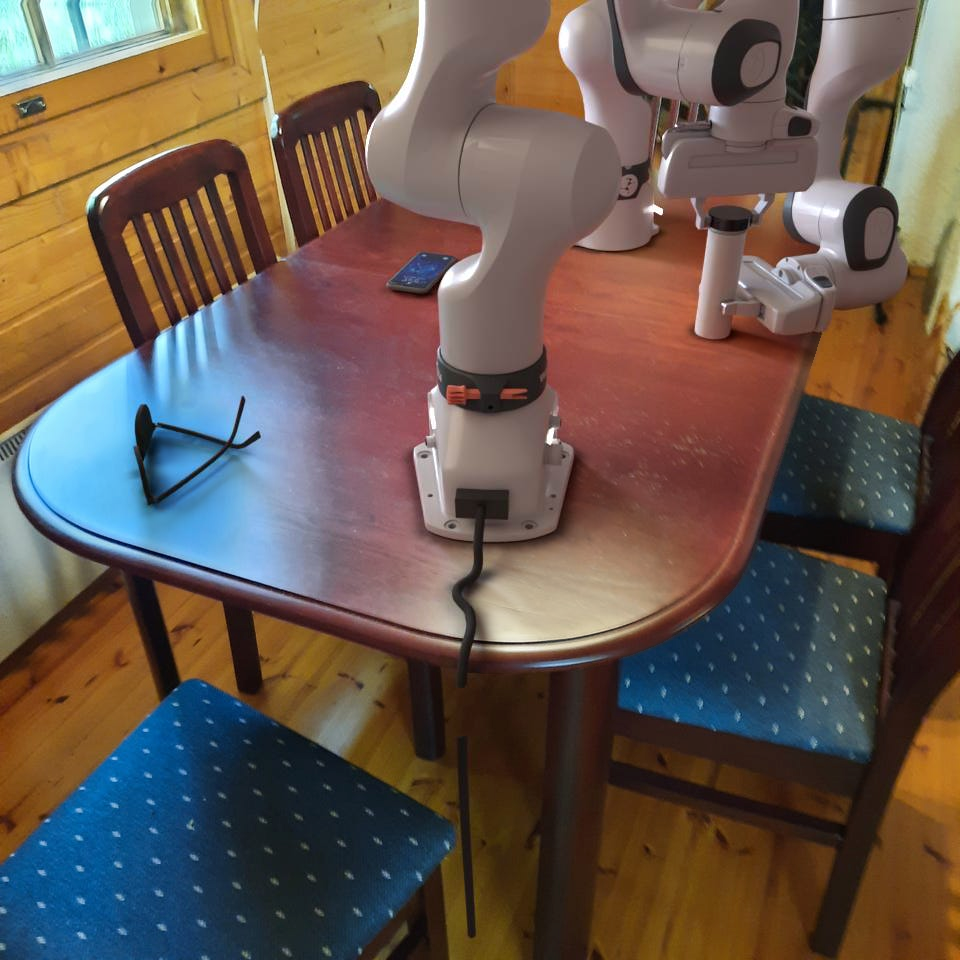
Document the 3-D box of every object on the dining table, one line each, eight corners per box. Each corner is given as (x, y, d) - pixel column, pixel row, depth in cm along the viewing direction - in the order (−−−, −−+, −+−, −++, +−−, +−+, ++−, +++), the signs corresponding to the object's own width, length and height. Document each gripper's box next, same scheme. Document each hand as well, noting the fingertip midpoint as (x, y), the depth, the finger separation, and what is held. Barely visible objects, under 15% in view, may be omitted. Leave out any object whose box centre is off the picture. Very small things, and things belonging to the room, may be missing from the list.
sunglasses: (270, 486, 97) (262, 449, 94) (137, 510, 94) (125, 474, 91) (257, 411, 110) (250, 377, 107) (140, 430, 107) (130, 396, 104)
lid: (715, 214, 119) (717, 202, 118) (756, 221, 116) (758, 209, 115) (699, 227, 115) (701, 215, 114) (742, 235, 112) (744, 222, 111)
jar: (690, 335, 124) (706, 222, 114) (699, 321, 128) (715, 210, 118) (725, 342, 122) (744, 227, 112) (733, 327, 126) (752, 215, 116)
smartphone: (458, 255, 148) (426, 290, 136) (458, 261, 148) (426, 296, 137) (419, 250, 150) (383, 284, 138) (419, 255, 150) (384, 289, 139)
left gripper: (670, 129, 104) (659, 239, 113) (832, 121, 106) (809, 230, 114) (657, 116, 109) (646, 222, 118) (811, 108, 111) (791, 214, 119)
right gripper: (764, 240, 131) (681, 251, 128) (844, 294, 115) (751, 308, 112) (757, 279, 135) (676, 291, 132) (833, 336, 119) (743, 351, 116)
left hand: (728, 226), depth 116 cm, fingers closed on lid, 6 cm apart
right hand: (711, 299), depth 122 cm, fingers closed on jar, 5 cm apart
